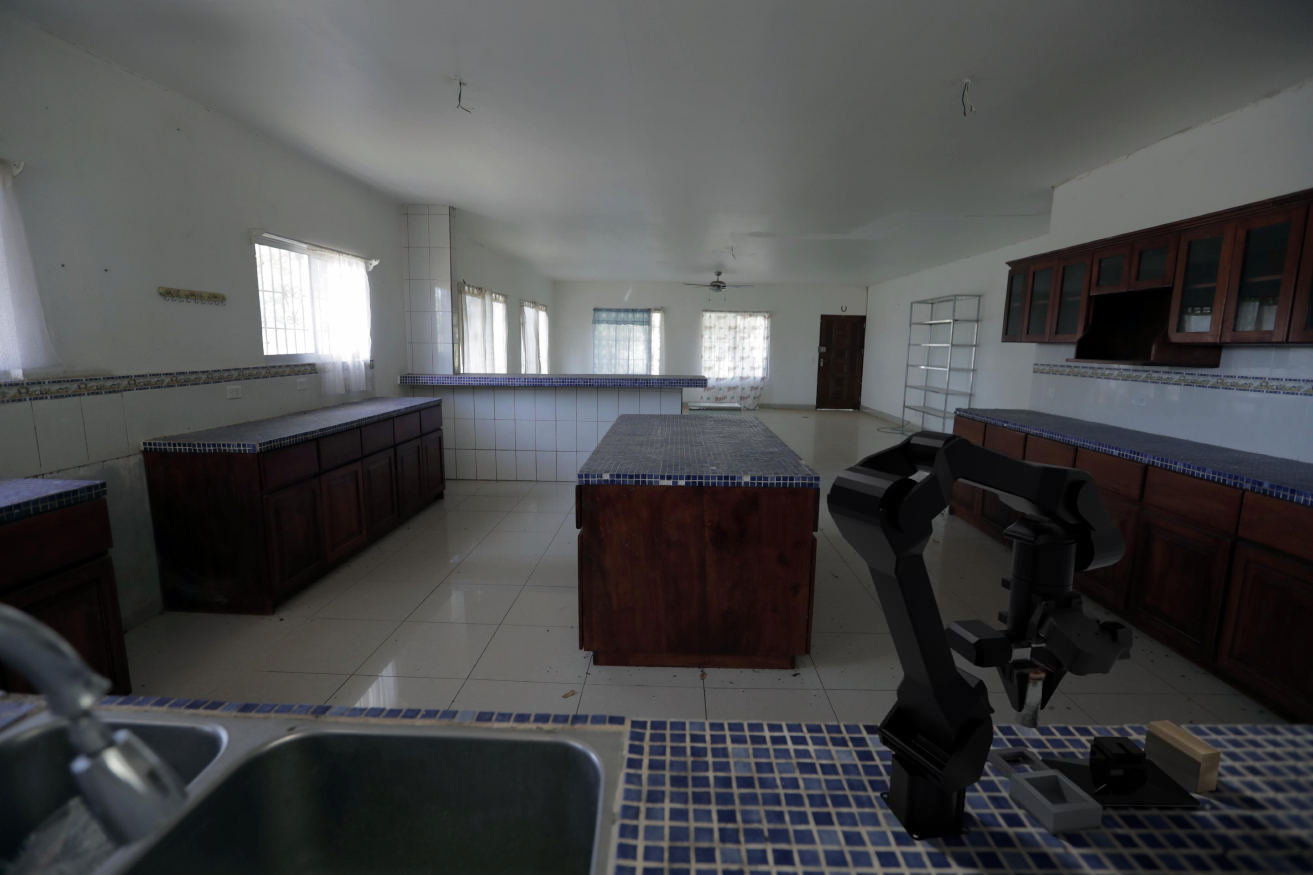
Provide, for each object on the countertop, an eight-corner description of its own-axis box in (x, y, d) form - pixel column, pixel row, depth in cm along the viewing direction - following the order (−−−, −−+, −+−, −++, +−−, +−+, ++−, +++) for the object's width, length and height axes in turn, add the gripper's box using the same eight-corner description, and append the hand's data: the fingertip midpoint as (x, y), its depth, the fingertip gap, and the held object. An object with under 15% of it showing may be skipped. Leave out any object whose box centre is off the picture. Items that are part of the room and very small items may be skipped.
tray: (1051, 835, 59) (1054, 812, 58) (1009, 795, 64) (1011, 773, 64) (1099, 829, 60) (1102, 806, 59) (1054, 789, 65) (1056, 768, 65)
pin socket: (1017, 787, 65) (1018, 779, 65) (985, 757, 70) (986, 749, 70) (1056, 782, 66) (1057, 774, 66) (1022, 753, 71) (1023, 745, 71)
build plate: (1079, 806, 62) (1082, 766, 62) (1038, 760, 70) (1040, 723, 69) (1201, 806, 62) (1205, 765, 61) (1147, 759, 69) (1150, 722, 69)
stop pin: (1025, 730, 66) (1030, 673, 65) (1006, 715, 69) (1011, 661, 68) (1046, 727, 67) (1052, 671, 66) (1026, 713, 69) (1032, 659, 68)
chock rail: (1194, 796, 64) (1200, 754, 64) (1142, 761, 70) (1147, 721, 70) (1214, 793, 65) (1220, 751, 64) (1161, 758, 71) (1167, 719, 70)
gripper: (1022, 612, 56) (1007, 765, 58) (1188, 601, 59) (1168, 746, 61) (946, 571, 67) (935, 700, 69) (1089, 563, 70) (1075, 687, 72)
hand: (1027, 709), depth 67 cm, fingers closed on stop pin, 2 cm apart
